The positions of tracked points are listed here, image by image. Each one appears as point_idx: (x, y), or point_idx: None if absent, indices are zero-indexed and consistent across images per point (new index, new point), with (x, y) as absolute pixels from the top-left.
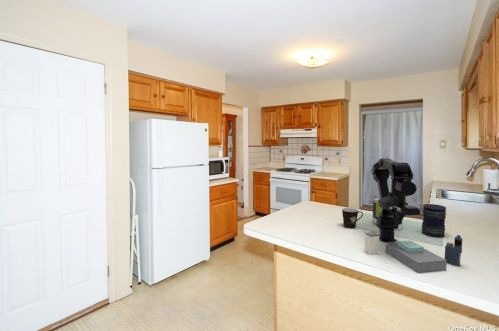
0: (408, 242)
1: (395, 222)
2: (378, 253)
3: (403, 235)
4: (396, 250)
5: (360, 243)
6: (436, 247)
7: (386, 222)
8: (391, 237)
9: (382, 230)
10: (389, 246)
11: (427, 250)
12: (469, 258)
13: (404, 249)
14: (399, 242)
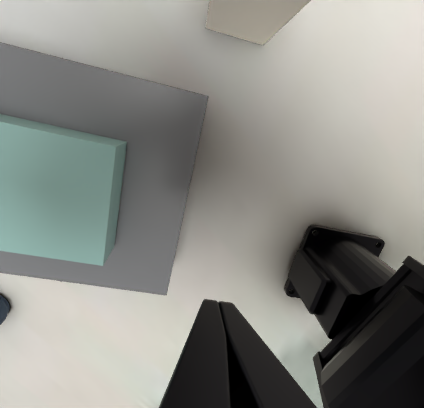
0: (67, 215)
1: (232, 327)
2: (206, 24)
3: (314, 370)
4: (66, 59)
5: (389, 54)
6: (150, 384)
7: (404, 325)
8: (302, 274)
9: (380, 270)
10: (159, 83)
11: (4, 270)
12: (18, 402)
13: (41, 123)
14: (91, 140)
